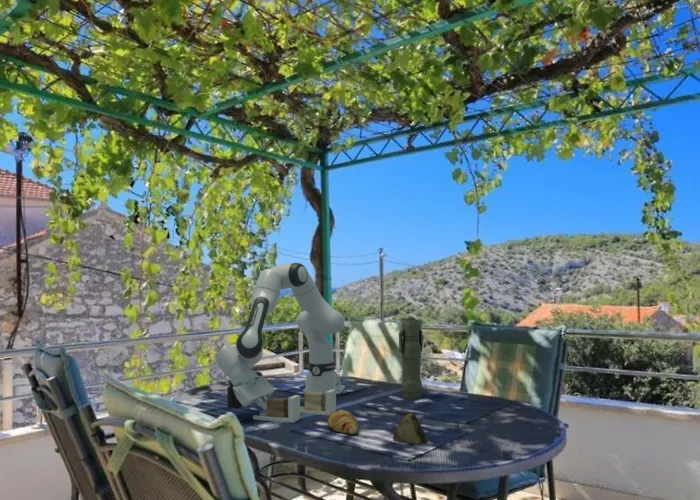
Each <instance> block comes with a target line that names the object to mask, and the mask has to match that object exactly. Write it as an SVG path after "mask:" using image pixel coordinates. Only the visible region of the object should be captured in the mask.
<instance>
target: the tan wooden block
mask: <svg viewBox="0 0 700 500" xmlns="http://www.w3.org/2000/svg"><path fill="white" fill-rule="evenodd" d="M304 407H305V410H315V411H325V408H326V397H325V393H319V392H307V393H306V392H304Z"/></svg>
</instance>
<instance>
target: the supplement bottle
mask: <svg viewBox="0 0 700 500" xmlns="http://www.w3.org/2000/svg"><path fill="white" fill-rule="evenodd" d="M243 407H244V406H243V405H242V404H241V403H240V402H239V400H238V399H237V397H236V396H235V393H234V390H233V384H232V383H231V381H230V380H229V384H228V387H226V408H227V409H229V408H231V409H236V408H243Z"/></svg>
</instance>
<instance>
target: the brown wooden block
mask: <svg viewBox="0 0 700 500" xmlns="http://www.w3.org/2000/svg"><path fill="white" fill-rule="evenodd" d="M266 413H267V416H269V417H281V418H288V398H287V397H286V398H284V397H268V398H267V409H266Z"/></svg>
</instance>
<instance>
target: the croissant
mask: <svg viewBox="0 0 700 500" xmlns="http://www.w3.org/2000/svg"><path fill="white" fill-rule="evenodd" d="M327 416H328V417H327V421H326V422H327V426H328V427H329V429H330V430H332V431H335V432H337V433H342V434H348V435H355V434H357V433H358V429H359V424H358V421H357V419H356V418H355V417H354V414H353V413H351V412H350V411H347V410H344V409H343V408H342V409H338V410H336V412H334V413H333V414H331V415H327Z"/></svg>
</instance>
